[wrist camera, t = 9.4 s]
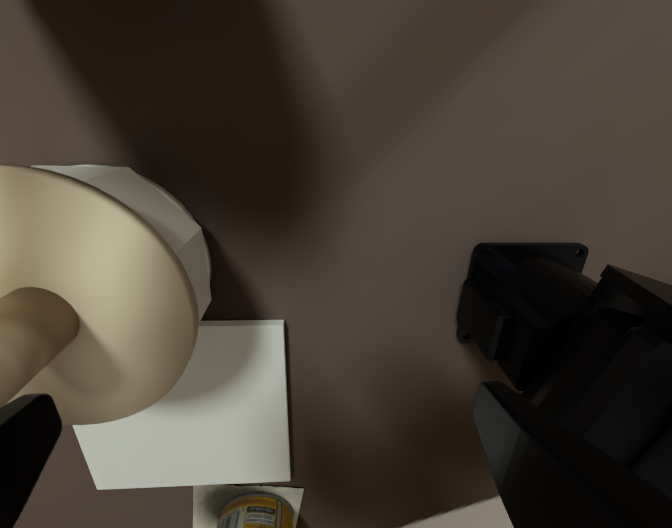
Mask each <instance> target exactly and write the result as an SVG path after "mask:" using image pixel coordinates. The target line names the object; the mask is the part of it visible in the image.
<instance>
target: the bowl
mask: <svg viewBox="0 0 672 528" xmlns="http://www.w3.org/2000/svg"><path fill="white" fill-rule="evenodd" d="M30 167H36V168H41V169H46V170H51V171H54V172H58V173H61V174H64V175H67V176H70V177H74V178H76V179H79V180H81V181H83V182H86V183H88V184H90V185H93V186H95V187H97V188H99V189H101V190H102V191H104V192H106V193H108V194H110V195H111V196H113V197H115V198H117V199H118V200H120V201H121V202H123V203H124V204H125V205H127V206H128V207H130V208H131V209H132V210H134V211H135V212H137V213H138V214H139V215H140V216H141V217H142V218H144V219H145V220H146V221H147V222H148V223H149V224H150V225H152V226H153V227H154V228H155V230H156V231H157V232H158V233H159V234H160V235H161V236H162V237H163V238H164V239H165V240H166V242H167V243H168V244H169V245H170V247H171V248H172V250H173V251H174V252H175V254H176V255H177V256H178V258H179V260H180V261H181V263H182V265H183V267H184V269H185V270H186V272H187V274H188V276H189V279H190V282H191V284H192V287H193V289H194V293H195V297H196V301H197V305H198V316H199V322H200V321H201V319H202V317H203V315H204V313H205V311H206V309H207V308H208V306H209V304H210V302H211V300H212V299H211V292H210V281H211V258H210V253H209V248H208V246H207V243H206V240H205V237H204V235H203V233H202V228H201V227H200V226H199V225H198V224H197V222H196V221H195V219H194V218H193V216H192V215H191V214H190V213H189V211H188V210H187V209H186V208H185V207H184V206H183V204H182V203H180V202H179V201H178V200H177V199H176V198H175V197H174V196H173V195H172V194H170V193H169V192H168V191H166V190H165V189H164V188H162V187H161V186H160V185H158V184H156V183H154V182H153V181H151V180H149V179H148V178H145V177H143V176H141V175H139V174H137V173H135V172H134V171H133V170H132V169H130V168H129V167H113V166H108V165H99V164H79V165H73V166H30Z"/></svg>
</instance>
